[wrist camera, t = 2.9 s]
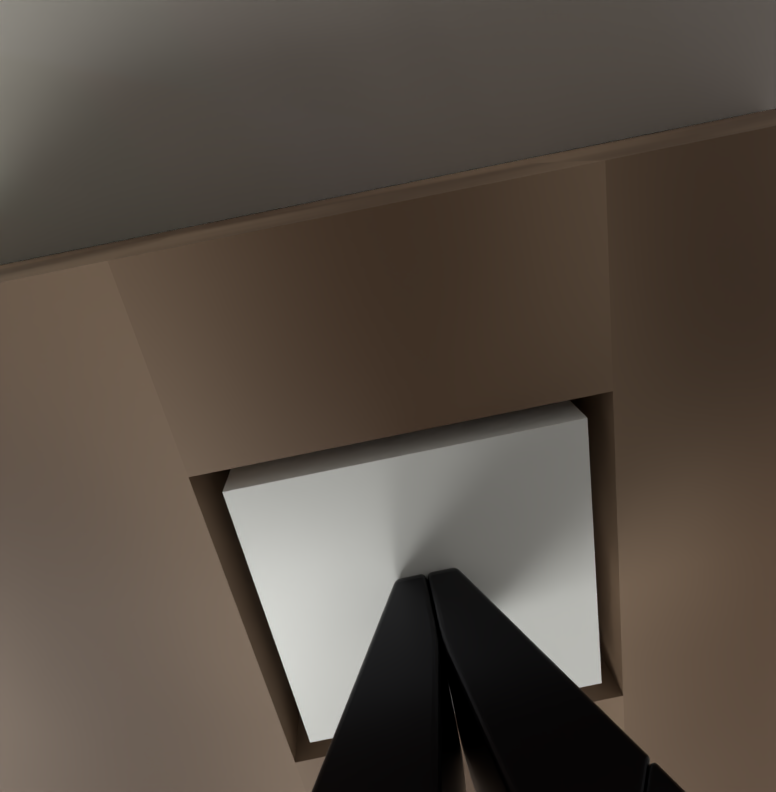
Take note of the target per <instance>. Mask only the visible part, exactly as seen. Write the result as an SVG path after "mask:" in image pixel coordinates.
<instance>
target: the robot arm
mask: <svg viewBox="0 0 776 792" xmlns="http://www.w3.org/2000/svg"><path fill="white" fill-rule="evenodd" d="M427 579H428V581H427ZM428 584H429V586H428ZM451 697H452V698H451ZM452 702H453V703H452ZM453 707H454V708H453ZM454 712H455V713H454ZM455 717H456V718H455ZM456 721H457V723H456ZM457 726H458V728H457ZM458 731H459V733H458ZM459 736H460V739H459ZM460 740H461V744H462V748H463V752H464V756H465V759H466V763H467V766H468V769H469V773H470V776H471V779H472V782H473V785H474V788H475V791H476V792H685V791H684V790H683V789H682V788H681V787H680V786H679V785H678V784H677V783H676V782H675V781H674V780H673V779H672V778H671V777H670V776H669V775H668V774H667V773H666V772H665V771H664V770H663V769H662V768H661V767H660V766H659V765H658V764H657V763H651V764H650V757H649V756H648V755H647V754H646V753H645V752H644V751H643V750H642V749H641V748H640V747H639V746H638V745H637V744H636V743H635V742H634V741H633V740H632V739H631V738H630V737H629V736H628V735H627V734H626V733H625V732H624V731H623V730H622V729H621V728H620V727H619V726H618V725H617V724H616V723H615V722H614V721H613V720H612V719H611V718H610V717H609V716H608V715H607V714H606V713H605V712H604V711H603V710H602V709H601V708H600V707H599V706H597V705H596V704H595V703H594V702H593V701H592V700H591V699H590V698H589V697H588V696H587V695H586V694H585V693H584V692H583V691H582V690H581V689H580V688H579V687H578V686H577V685H576V684H575V683H574V682H573V681H572V680H571V679H570V678H569V677H568V676H567V675H566V674H565V673H564V672H563V671H562V670H561V669H560V668H559V667H558V666H557V665H556V664H555V663H554V662H553V661H552V660H551V659H550V658H549V657H548V656H547V655H546V654H545V653H544V652H543V651H542V650H540V649H539V648H538V647H537V646H536V645H535V644H534V643H533V642H532V641H531V640H530V639H529V638H528V637H527V636H526V635H525V634H524V633H523V632H522V631H521V630H520V629H519V628H518V627H517V626H516V625H515V624H514V623H513V622H512V621H511V620H510V619H509V618H508V617H507V616H506V615H505V614H504V613H503V612H502V611H501V610H500V609H499V608H498V607H497V606H496V605H495V604H494V603H493V602H492V601H491V600H490V599H489V598H488V597H487V596H486V595H485V594H483V593H482V592H481V591H480V590H479V589H478V588H477V587H476V586H475V585H474V584H473V583H472V582H471V581H470V580H469V579H468V578H467V577H466V576H465V575H464V574H463V573H462V572H461V571H460V570H459V569H457V568H449V569H444V570H439V571H434V572H431V573H429V574H428V577H427V578H426V576H425V575H423V574H419V575H414V576H409V577H404V578H400V579H397V580H396V581H395V583H394V585H393V587H392V590H391V592H390V595H389V597H388V600H387V602H386V605H385V607H384V610H383V612H382V615H381V617H380V620H379V622H378V625H377V628H376V630H375V633H374V635H373V638H372V640H371V643H370V645H369V648H368V650H367V653H366V655H365V658H364V660H363V663H362V665H361V668H360V670H359V673H358V675H357V678H356V681H355V683H354V686H353V688H352V691H351V693H350V696H349V698H348V701H347V703H346V706H345V708H344V711H343V713H342V716H341V718H340V721H339V723H338V726H337V728H336V731H335V733H334V736H333V739H332V741H331V744H330V746H329V749H328V751H327V754H326V756H325V759H324V761H323V764H322V766H321V769H320V771H319V774H318V776H317V779H316V781H315V784H314V786H313V789H312V792H466V783H465V773H464V765H463V757H462V750H461V745H460Z"/></svg>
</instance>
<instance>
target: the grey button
mask: <svg viewBox="0 0 776 792" xmlns="http://www.w3.org/2000/svg"><path fill="white" fill-rule="evenodd" d="M222 493H223V496H224V498H225V501H226V504H227V507H228V510H229V513H230V516H231V518H232V521H233V524H234V527H235V530H236V533H237V535H238V538H239V541H240V544H241V547H242V550H243V553H244V555H245V558H246V561H247V564H248V567H249V570H250V573H251V575H252V578H253V581H254V584H255V587H256V590H257V592H258V595H259V598H260V601H261V604H262V607H263V610H264V612H265V615H266V618H267V621H268V624H269V627H270V630H271V632H272V635H273V638H274V641H275V644H276V647H277V649H278V652H279V655H280V658H281V661H282V664H283V667H284V669H285V672H286V675H287V678H288V681H289V684H290V686H291V689H292V692H293V695H294V698H295V701H296V704H297V706H298V709H299V712H300V715H301V718H302V721H303V724H304V726H305V729H306V732H307V735H308V738H309V741H310V743H311V742H316V741H321V740H326V739H330V738H333V736H334V733H335V731H336V728H337V726H338V723H339V721H340V718H341V716H342V713H343V711H344V708H345V706H346V703H347V701H348V698H349V696H350V693H351V691H352V688H353V686H354V683H355V681H356V678H357V675H358V673H359V670H360V668H361V665H362V663H363V660H364V658H365V655H366V653H367V650H368V648H369V645H370V643H371V640H372V638H373V635H374V633H375V630H376V628H377V625H378V622H379V620H380V617H381V615H382V612H383V610H384V607H385V605H386V602H387V600H388V597H389V595H390V592H391V590H392V587H393V585H394V583H395V581H396V580H397V579H400V578H404V577H409V576H414V575H419V574H423V575H425V576H426V578H427V577H428V574H429V573H431V572H434V571H439V570H444V569H449V568H457V569H459V570H460V571H461V572H462V573H463V574H464V575H465V576H466V577H467V578H468V579H469V580H470V581H471V582H472V583H473V584H474V585H475V586H476V587H477V588H478V589H479V590H480V591H481V592H482V593H483V594H485V595H486V596H487V597H488V598H489V599H490V600H491V601H492V602H493V603H494V604H495V605H496V606H497V607H498V608H499V609H500V610H501V611H502V612H503V613H504V614H505V615H506V616H507V617H508V618H509V619H510V620H511V621H512V622H513V623H514V624H515V625H516V626H517V627H518V628H519V629H520V630H521V631H522V632H523V633H524V634H525V635H526V636H527V637H528V638H529V639H530V640H531V641H532V642H533V643H534V644H535V645H536V646H537V647H538V648H539V649H540V650H542V651H543V652H544V653H545V654H546V655H547V656H548V657H549V658H550V659H551V660H552V661H553V662H554V663H555V664H556V665H557V666H558V667H559V668H560V669H561V670H562V671H563V672H564V673H565V674H566V675H567V676H568V677H569V678H570V679H571V680H572V681H573V682H574V683H575V684H576V685H577V686H578V687H579V688H580V687H585V686H590V685H595V684H600V683H602V680H601V662H600V643H599V624H598V606H597V587H596V569H595V550H594V531H593V513H592V494H591V475H590V457H589V438H588V420H587V417H586V416H585V415H584V414H583V413H582V412H581V411H580V410H579V409H578V408H577V407H576V406H575V405H574V404H573V403H572V402H571V401H570V400H567V401H562V402H557V403H552V404H547V405H542V406H537V407H532V408H527V409H523V410H518V411H513V412H508V413H503V414H498V415H493V416H488V417H483V418H478V419H473V420H468V421H463V422H459V423H454V424H449V425H444V426H439V427H434V428H429V429H424V430H419V431H414V432H409V433H404V434H399V435H394V436H390V437H385V438H380V439H375V440H370V441H365V442H360V443H355V444H350V445H345V446H340V447H335V448H330V449H325V450H321V451H316V452H311V453H306V454H301V455H296V456H291V457H286V458H281V459H276V460H271V461H266V462H261V463H257V464H252V465H247V466H242V467H237V468H232V469H231V470H230V473H229V475H228V478H227V481H226V483H225V486H224V489H223V492H222ZM427 581H428V579H427ZM428 586H429V584H428ZM451 698H452V697H451ZM452 703H453V702H452ZM453 708H454V707H453ZM454 713H455V712H454Z"/></svg>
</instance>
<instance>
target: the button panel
mask: <svg viewBox="0 0 776 792" xmlns="http://www.w3.org/2000/svg"><path fill="white" fill-rule="evenodd" d="M567 400H570V401H571V402H572V403H573V404H574V405H575V406H576V407H577V408H578V409H579V410H580V411H581V412H582V413H583V414H584V415H585V416H586V417H587V420H588V438H589V457H590V475H591V494H592V513H593V531H594V550H595V569H596V587H597V606H598V624H599V643H600V662H601V680H602V683H600V684H595V685H590V686H585V687H580V689H581V690H582V691H583V692H584V693H585V694H586V695H587V696H588V697H589V698H590V699H591V700H592V701H593V702H594V703H595V704H596V705H597V706H599V707H600V708H601V709H602V710H603V711H604V712H605V713H606V714H607V715H608V716H609V717H610V718H611V719H612V720H613V721H614V722H615V723H616V724H617V725H618V726H619V727H620V728H621V729H622V730H623V731H624V732H625V733H626V734H627V735H628V736H629V737H630V738H631V739H632V740H633V741H634V742H635V743H636V744H637V745H638V746H639V747H640V748H641V749H642V750H643V751H644V752H645V753H646V754H647V755H648V756H649V757H650V764H651V763H657V764H658V765H659V766H660V767H661V768H662V769H663V770H664V771H665V772H666V773H667V774H668V775H669V776H670V777H671V778H672V779H673V780H674V781H675V782H676V783H677V784H678V785H679V786H680V787H681V788H682V789H683V790H684V791H685V792H776V109H773V110H766V111H761V112H756V113H751V114H746V115H741V116H736V117H731V118H727V119H722V120H717V121H712V122H707V123H702V124H697V125H692V126H687V127H682V128H677V129H672V130H667V131H662V132H657V133H652V134H647V135H642V136H637V137H632V138H627V139H623V140H618V141H613V142H608V143H603V144H598V145H593V146H588V147H583V148H578V149H573V150H568V151H563V152H558V153H553V154H548V155H543V156H538V157H533V158H528V159H524V160H519V161H514V162H509V163H504V164H499V165H494V166H489V167H484V168H479V169H474V170H469V171H464V172H459V173H454V174H449V175H444V176H439V177H434V178H429V179H424V180H420V181H415V182H410V183H405V184H400V185H395V186H390V187H385V188H380V189H375V190H370V191H365V192H360V193H355V194H350V195H345V196H340V197H335V198H330V199H325V200H321V201H316V202H311V203H306V204H301V205H296V206H291V207H286V208H281V209H276V210H271V211H266V212H261V213H256V214H251V215H246V216H241V217H236V218H231V219H226V220H222V221H217V222H212V223H207V224H202V225H197V226H192V227H187V228H182V229H177V230H172V231H167V232H162V233H157V234H152V235H147V236H142V237H137V238H132V239H127V240H122V241H118V242H113V243H108V244H103V245H98V246H93V247H88V248H83V249H78V250H73V251H68V252H63V253H58V254H53V255H48V256H43V257H38V258H33V259H28V260H23V261H19V262H14V263H9V264H4V265H0V792H312V789H313V786H314V784H315V781H316V779H317V776H318V774H319V771H320V769H321V766H322V764H323V761H324V759H325V756H326V754H327V751H328V749H329V746H330V744H331V741H332V739H333V738H330V739H326V740H321V741H316V742H311V743H310V741H309V738H308V735H307V732H306V729H305V726H304V724H303V721H302V718H301V715H300V712H299V709H298V706H297V704H296V701H295V698H294V695H293V692H292V689H291V686H290V684H289V681H288V678H287V675H286V672H285V669H284V667H283V664H282V661H281V658H280V655H279V652H278V649H277V647H276V644H275V641H274V638H273V635H272V632H271V630H270V627H269V624H268V621H267V618H266V615H265V612H264V610H263V607H262V604H261V601H260V598H259V595H258V592H257V590H256V587H255V584H254V581H253V578H252V575H251V573H250V570H249V567H248V564H247V561H246V558H245V555H244V553H243V550H242V547H241V544H240V541H239V538H238V535H237V533H236V530H235V527H234V524H233V521H232V518H231V516H230V513H229V510H228V507H227V504H226V501H225V498H224V496H223V493H222V492H223V489H224V486H225V483H226V481H227V478H228V475H229V473H230V470H231V469H232V468H237V467H242V466H247V465H252V464H257V463H261V462H266V461H271V460H276V459H281V458H286V457H291V456H296V455H301V454H306V453H311V452H316V451H321V450H325V449H330V448H335V447H340V446H345V445H350V444H355V443H360V442H365V441H370V440H375V439H380V438H385V437H390V436H394V435H399V434H404V433H409V432H414V431H419V430H424V429H429V428H434V427H439V426H444V425H449V424H454V423H459V422H463V421H468V420H473V419H478V418H483V417H488V416H493V415H498V414H503V413H508V412H513V411H518V410H523V409H527V408H532V407H537V406H542V405H547V404H552V403H557V402H562V401H567ZM455 718H456V717H455ZM456 723H457V721H456ZM457 728H458V726H457ZM458 733H459V731H458ZM459 739H460V736H459ZM460 745H461V750H462V757H463V765H464V773H465V783H466V792H476V791H475V788H474V785H473V782H472V779H471V776H470V773H469V769H468V766H467V763H466V759H465V756H464V752H463V748H462V744H461V740H460Z"/></svg>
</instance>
